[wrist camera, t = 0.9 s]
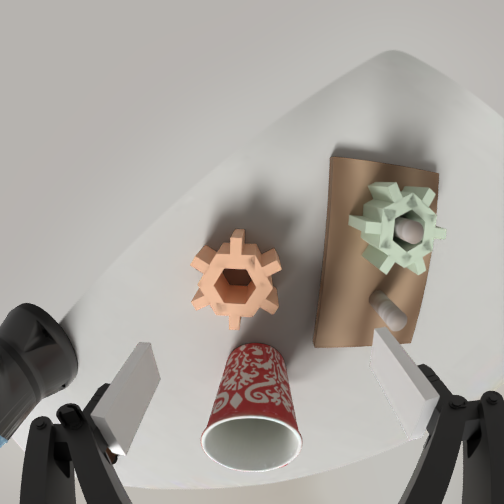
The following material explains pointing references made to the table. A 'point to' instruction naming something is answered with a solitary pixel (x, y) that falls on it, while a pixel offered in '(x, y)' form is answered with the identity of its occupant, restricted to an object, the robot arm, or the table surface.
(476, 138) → the table surface
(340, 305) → the gear board
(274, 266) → the gear
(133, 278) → the table surface
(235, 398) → the mug
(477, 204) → the table surface
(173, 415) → the table surface
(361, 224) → the gear
